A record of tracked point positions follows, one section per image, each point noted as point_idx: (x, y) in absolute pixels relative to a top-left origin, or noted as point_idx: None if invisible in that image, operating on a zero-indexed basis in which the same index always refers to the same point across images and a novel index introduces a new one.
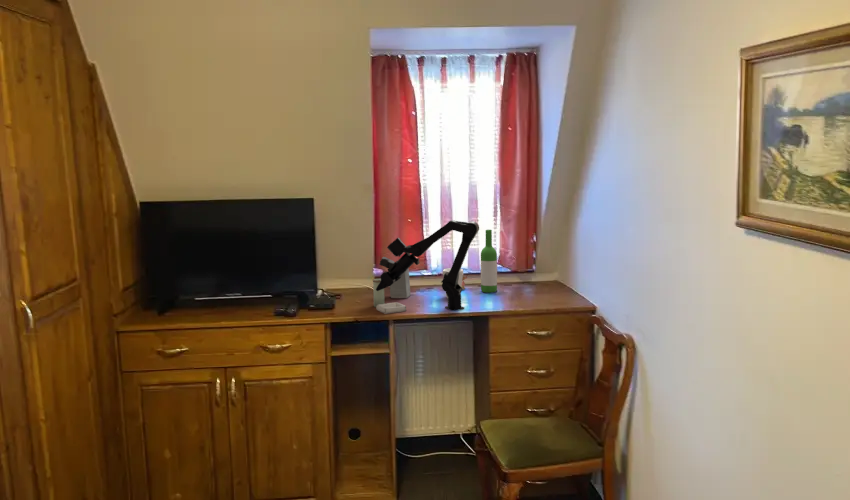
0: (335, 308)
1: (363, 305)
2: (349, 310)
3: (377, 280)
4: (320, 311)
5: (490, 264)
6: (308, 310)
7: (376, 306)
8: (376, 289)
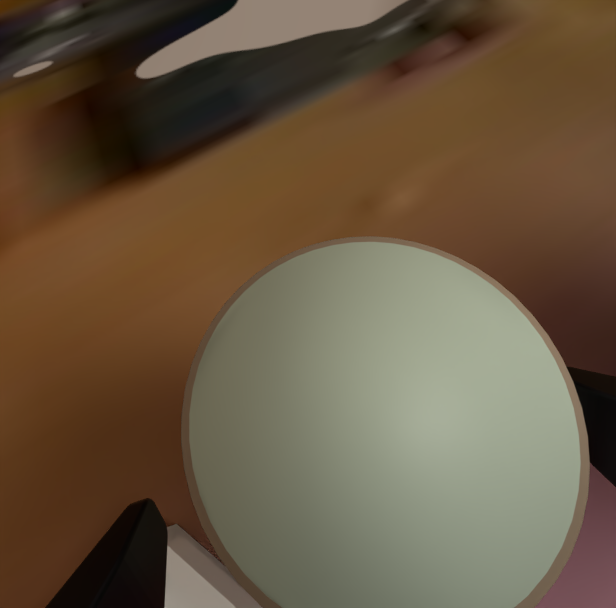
0: (140, 188)
1: None
2: (100, 300)
3: (236, 451)
4: (39, 161)
5: None
6: (56, 102)
7: None
8: (127, 524)
